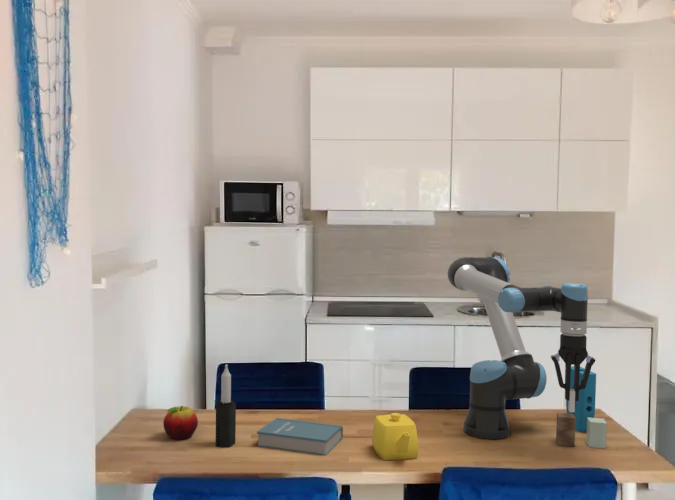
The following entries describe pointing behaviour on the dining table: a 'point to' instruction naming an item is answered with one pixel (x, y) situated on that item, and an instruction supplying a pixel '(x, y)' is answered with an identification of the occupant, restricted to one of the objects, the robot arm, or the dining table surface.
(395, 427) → the teapot
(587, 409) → the block
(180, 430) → the fruit
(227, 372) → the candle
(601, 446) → the sage pillar
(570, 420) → the walnut pillar
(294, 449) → the book
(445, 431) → the dining table surface
